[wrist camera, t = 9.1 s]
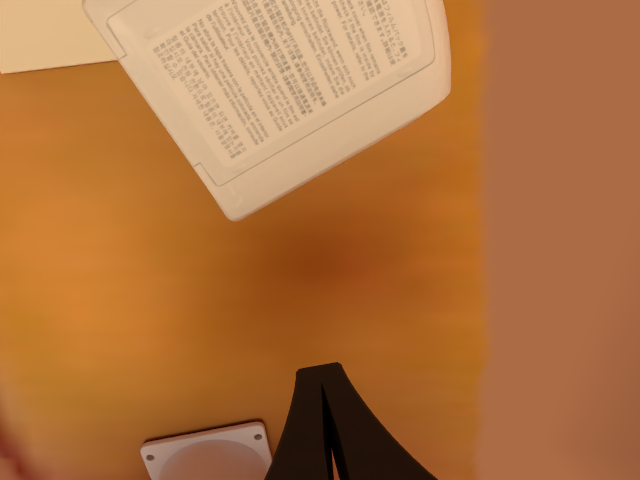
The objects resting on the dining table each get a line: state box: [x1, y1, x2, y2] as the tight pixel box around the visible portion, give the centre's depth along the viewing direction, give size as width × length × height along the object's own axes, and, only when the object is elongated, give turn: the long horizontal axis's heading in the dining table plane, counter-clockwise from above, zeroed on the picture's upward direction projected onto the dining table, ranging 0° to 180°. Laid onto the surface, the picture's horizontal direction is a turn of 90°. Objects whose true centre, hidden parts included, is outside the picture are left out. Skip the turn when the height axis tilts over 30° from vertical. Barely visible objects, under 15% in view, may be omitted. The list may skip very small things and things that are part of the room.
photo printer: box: [82, 0, 451, 222], centre depth 16 cm, size 10×4×12 cm
